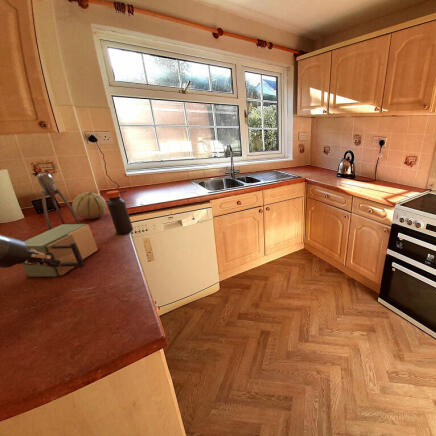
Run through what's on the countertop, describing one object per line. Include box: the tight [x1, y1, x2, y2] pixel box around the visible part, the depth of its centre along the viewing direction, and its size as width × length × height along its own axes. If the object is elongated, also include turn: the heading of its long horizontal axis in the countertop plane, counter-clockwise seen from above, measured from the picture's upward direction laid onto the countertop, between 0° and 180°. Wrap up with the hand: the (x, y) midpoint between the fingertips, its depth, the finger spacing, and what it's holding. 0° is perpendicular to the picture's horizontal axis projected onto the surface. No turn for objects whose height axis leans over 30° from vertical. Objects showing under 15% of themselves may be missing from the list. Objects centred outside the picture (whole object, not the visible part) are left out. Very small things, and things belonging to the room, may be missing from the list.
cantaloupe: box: [71, 191, 108, 220], centre depth 134 cm, size 15×15×15 cm
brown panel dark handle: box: [46, 234, 86, 276], centre depth 86 cm, size 9×9×12 cm
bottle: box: [105, 190, 134, 235], centre depth 114 cm, size 7×7×20 cm
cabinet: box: [21, 223, 99, 278], centre depth 90 cm, size 11×18×12 cm, turn 179°
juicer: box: [36, 172, 81, 230], centre depth 111 cm, size 10×11×30 cm
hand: (57, 264), depth 76 cm, fingers closed
